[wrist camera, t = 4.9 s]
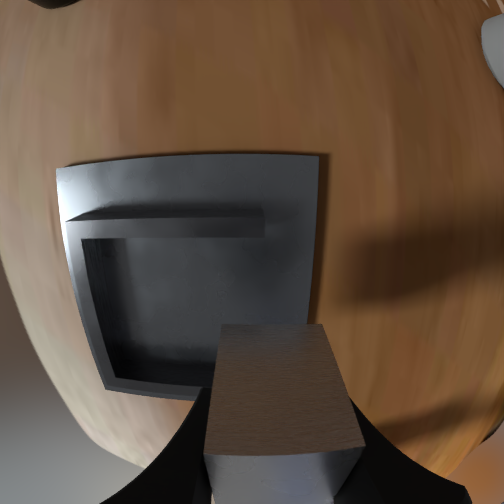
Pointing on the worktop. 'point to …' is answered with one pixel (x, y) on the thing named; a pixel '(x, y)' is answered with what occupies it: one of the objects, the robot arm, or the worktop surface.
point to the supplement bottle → (52, 3)
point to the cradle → (185, 259)
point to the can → (494, 46)
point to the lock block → (279, 417)
